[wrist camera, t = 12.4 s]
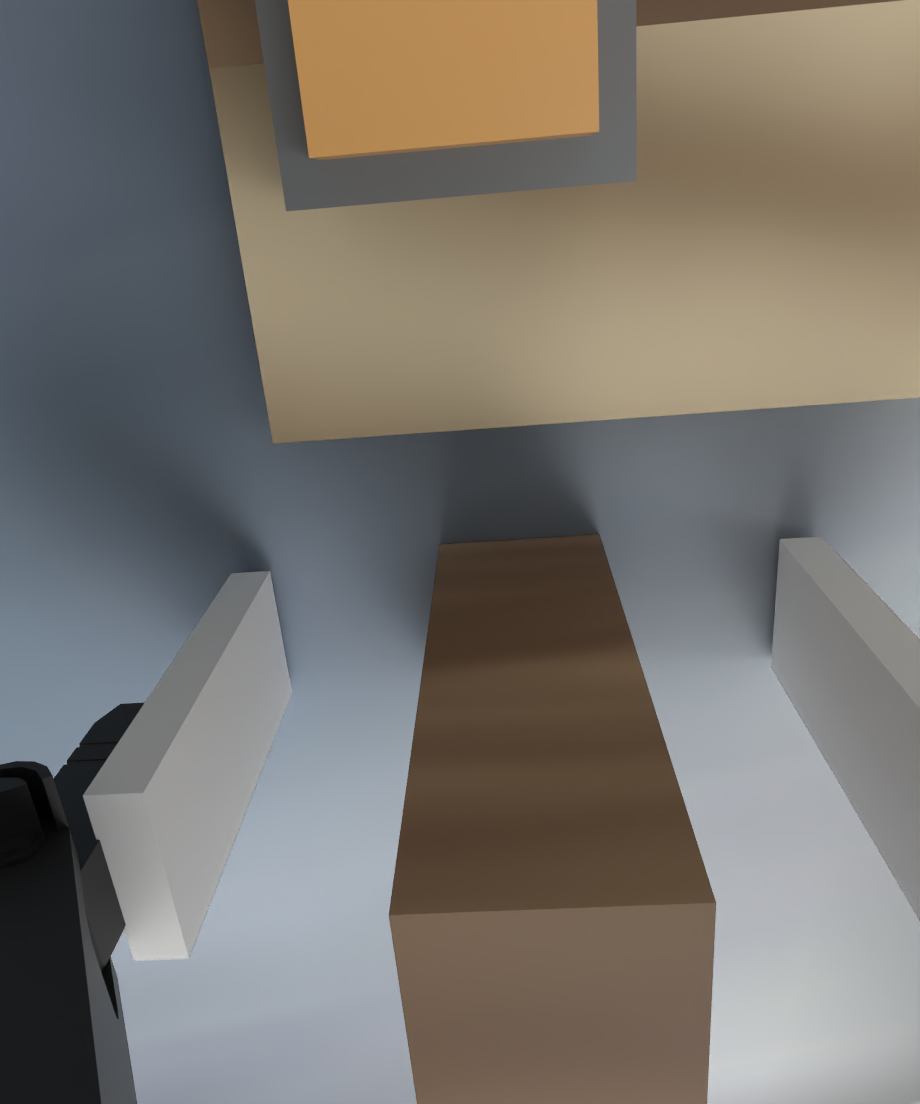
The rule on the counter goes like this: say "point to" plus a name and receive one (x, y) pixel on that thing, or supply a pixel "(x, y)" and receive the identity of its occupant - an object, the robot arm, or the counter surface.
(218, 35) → the plywood panel
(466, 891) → the peg
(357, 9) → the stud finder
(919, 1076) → the counter surface
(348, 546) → the counter surface
